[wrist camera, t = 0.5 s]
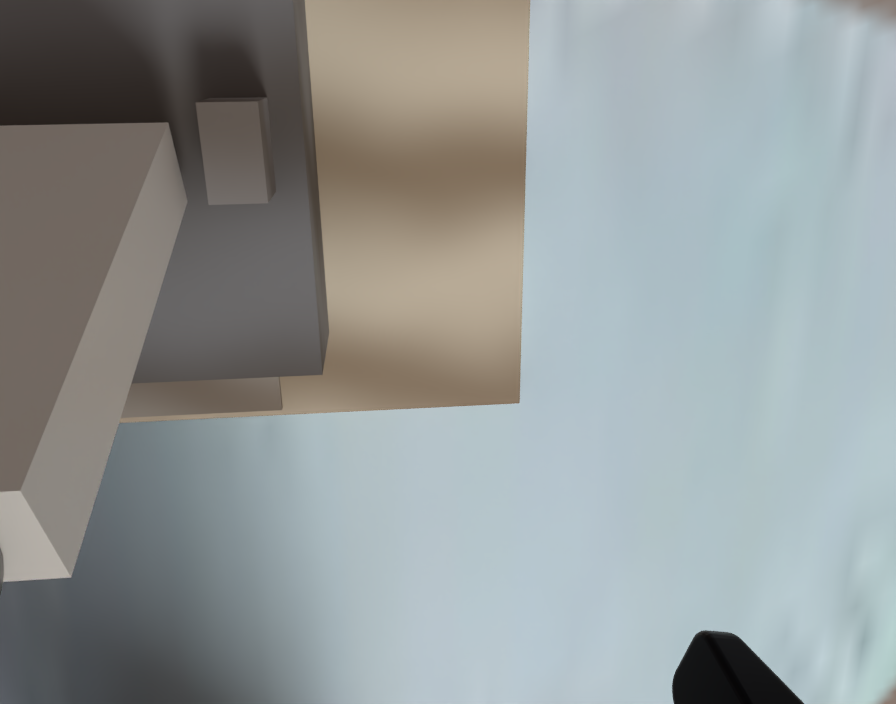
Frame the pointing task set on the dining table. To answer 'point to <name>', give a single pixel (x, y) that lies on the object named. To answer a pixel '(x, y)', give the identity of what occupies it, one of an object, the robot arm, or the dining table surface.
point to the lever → (73, 318)
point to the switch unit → (310, 191)
